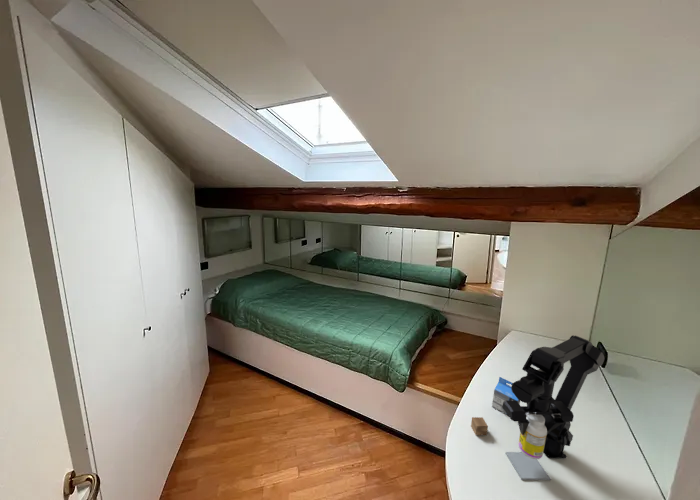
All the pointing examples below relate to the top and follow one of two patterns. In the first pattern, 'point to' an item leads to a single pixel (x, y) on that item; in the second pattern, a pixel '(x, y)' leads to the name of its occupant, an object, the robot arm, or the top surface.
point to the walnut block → (479, 426)
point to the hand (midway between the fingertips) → (532, 433)
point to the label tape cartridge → (503, 394)
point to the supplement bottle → (533, 437)
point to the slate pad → (527, 467)
